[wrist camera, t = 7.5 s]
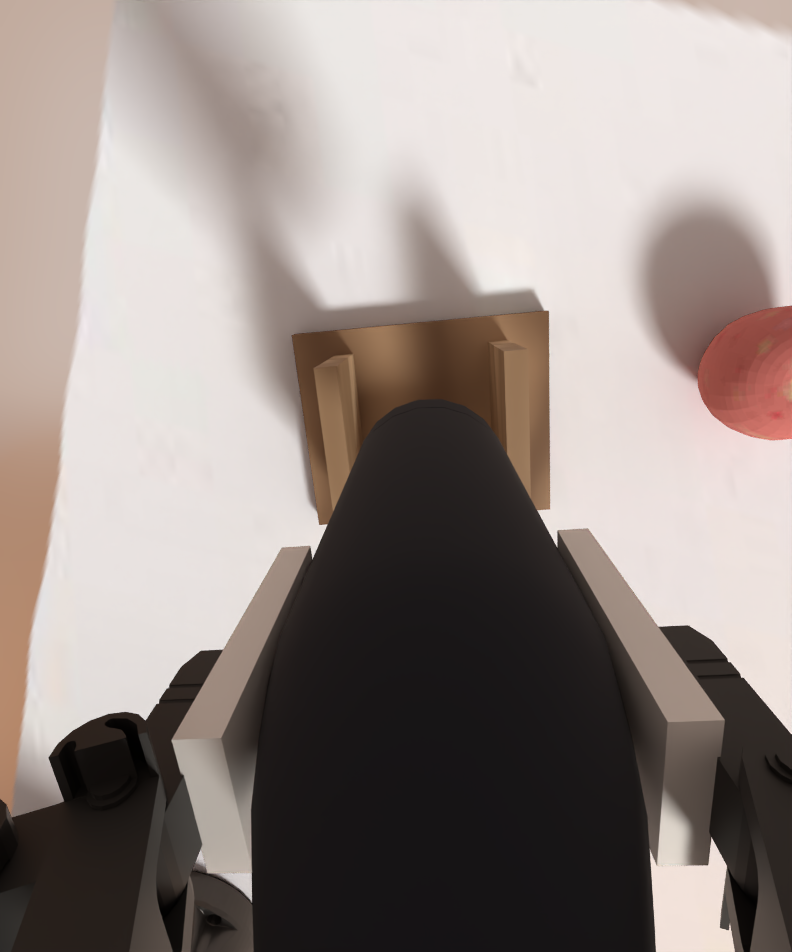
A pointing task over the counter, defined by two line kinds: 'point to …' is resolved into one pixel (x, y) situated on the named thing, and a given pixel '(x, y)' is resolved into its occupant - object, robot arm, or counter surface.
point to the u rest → (426, 389)
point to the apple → (751, 374)
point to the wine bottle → (444, 724)
